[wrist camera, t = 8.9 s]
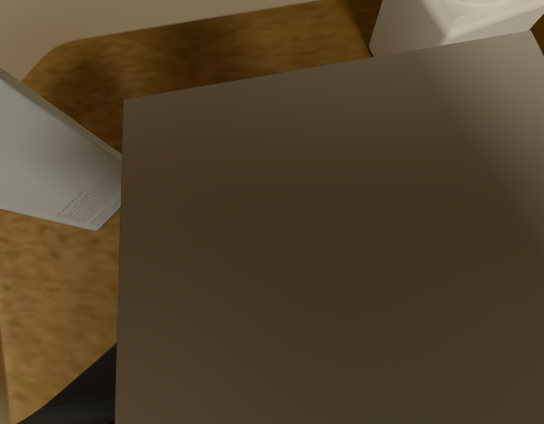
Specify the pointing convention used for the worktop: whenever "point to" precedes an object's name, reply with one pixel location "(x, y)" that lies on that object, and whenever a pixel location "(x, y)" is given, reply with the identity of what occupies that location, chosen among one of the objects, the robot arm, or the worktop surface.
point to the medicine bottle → (448, 22)
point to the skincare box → (53, 162)
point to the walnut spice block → (338, 244)
